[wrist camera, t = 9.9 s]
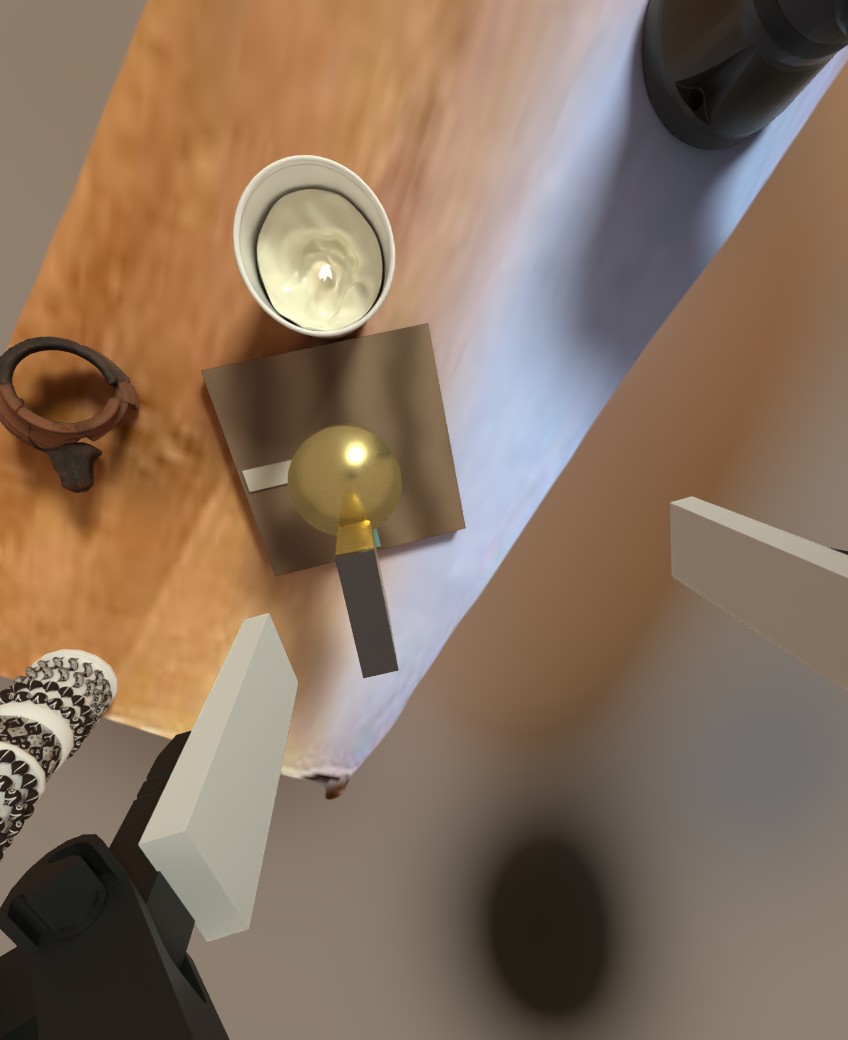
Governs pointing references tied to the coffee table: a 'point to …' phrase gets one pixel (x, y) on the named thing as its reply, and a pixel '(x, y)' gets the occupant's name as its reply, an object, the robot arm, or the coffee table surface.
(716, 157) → the coffee table surface
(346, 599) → the cap
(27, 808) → the decorative candle
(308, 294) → the candle holder
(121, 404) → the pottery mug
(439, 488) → the post plinth
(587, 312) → the coffee table surface
